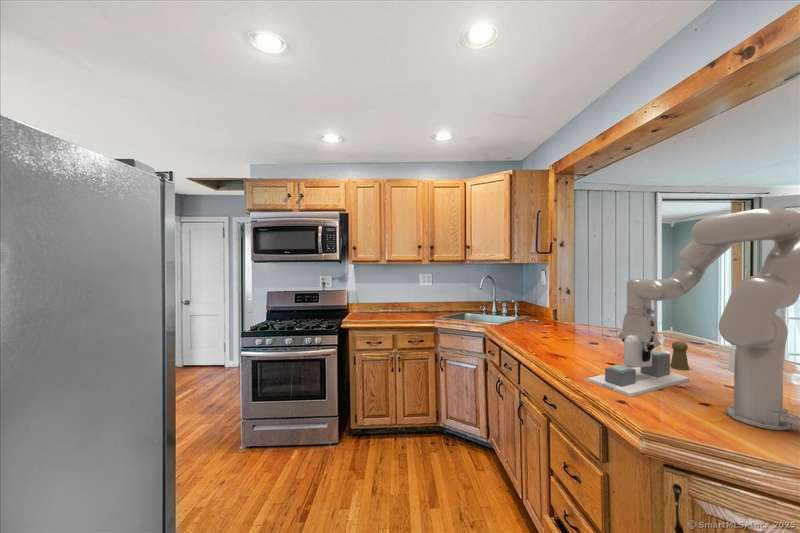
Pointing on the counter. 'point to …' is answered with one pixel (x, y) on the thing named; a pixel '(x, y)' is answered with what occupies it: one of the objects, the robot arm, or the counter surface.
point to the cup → (731, 356)
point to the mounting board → (640, 377)
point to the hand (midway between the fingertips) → (638, 358)
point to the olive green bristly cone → (679, 356)
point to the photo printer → (635, 353)
